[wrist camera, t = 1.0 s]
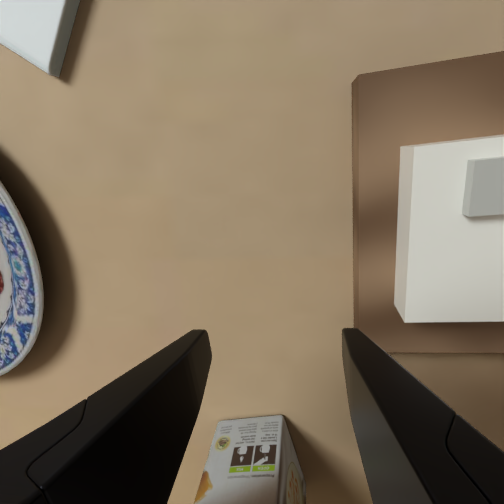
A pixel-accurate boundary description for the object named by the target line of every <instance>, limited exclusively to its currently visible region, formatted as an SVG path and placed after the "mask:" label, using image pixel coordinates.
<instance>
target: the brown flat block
mask: <svg viewBox="0 0 504 504" xmlns="http://www.w3.org/2000/svg"><path fill="white" fill-rule="evenodd" d="M503 134H504V51H501V52H495V53H489V54H483V55H477V56H471V57H464V58H458V59H452V60H446V61H440V62H434V63H428V64H421V65H415V66H409V67H403V68H397V69H391V70H384V71H378V72H372V73H366V74H360V75H358V76H357V77H356V79H355V80H354V81H353V82H352V171H353V286H354V328H358V329H359V330H361V331H362V332H363V333H364V334H365V335H366V336H368V337H369V338H370V339H371V340H372V341H373V342H375V343H376V344H377V345H378V346H379V347H380V348H382V349H383V350H384V351H385V352H402V353H504V321H499V322H418V323H404V321H403V319H402V317H401V316H400V314H399V312H398V310H397V308H396V307H395V305H394V293H395V268H396V244H397V219H398V195H399V170H400V146H409V145H417V144H426V143H435V142H443V141H452V140H460V139H469V138H478V137H486V136H495V135H503Z"/></svg>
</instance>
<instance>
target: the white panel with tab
mask: <svg viewBox="0 0 504 504" xmlns="http://www.w3.org/2000/svg"><path fill="white" fill-rule="evenodd" d="M394 305H395V307H396V308H397V310H398V312H399V314H400V316H401V317H402V319H403V321H404V323H418V322H499V321H504V134H503V135H495V136H486V137H478V138H469V139H460V140H452V141H443V142H435V143H426V144H417V145H409V146H400V170H399V195H398V219H397V244H396V268H395V293H394Z"/></svg>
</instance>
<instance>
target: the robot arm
mask: <svg viewBox="0 0 504 504" xmlns="http://www.w3.org/2000/svg"><path fill="white" fill-rule="evenodd" d="M342 356H343V365H344V373H345V380H346V388H347V395H348V403H349V409H350V415H351V420H352V424H353V428H354V432H355V436H356V440H357V443H358V447H359V451H360V455H361V459H362V463H363V467H364V470H365V474H366V478H367V482H368V486H369V490H370V493H371V497H372V501H373V504H504V452H503V451H502V450H501V449H499V448H498V447H497V446H496V445H495V444H493V443H492V442H491V441H490V440H488V439H487V438H486V437H485V436H484V435H482V434H481V433H480V432H479V431H478V430H476V429H475V428H474V427H473V426H472V425H470V424H469V423H468V422H467V421H466V420H465V419H463V418H462V417H461V416H460V415H458V414H456V413H455V411H454V410H453V409H452V408H450V407H449V406H448V405H447V404H446V403H445V402H443V401H442V400H441V399H440V398H439V397H438V396H436V395H435V394H434V393H433V392H432V391H431V390H429V389H428V388H427V387H426V386H425V385H424V384H422V383H421V382H420V381H419V380H418V379H417V378H415V377H414V376H413V375H412V374H411V373H410V372H408V371H407V370H406V369H405V368H404V367H403V366H401V365H400V364H399V363H398V362H397V361H396V360H394V359H393V358H392V357H391V356H390V355H389V354H387V353H386V352H385V351H384V350H383V349H382V348H380V347H379V346H378V345H377V344H376V343H375V342H373V341H372V340H371V339H370V338H369V337H368V336H366V335H365V334H364V333H363V332H362V331H361V330H359V329H358V328H344V329H343V330H342ZM211 360H212V352H211V347H210V342H209V337H208V333H207V331H206V330H191V331H190V332H188V333H187V334H185V335H184V336H182V337H181V338H179V339H177V340H176V341H174V342H173V343H171V344H170V345H168V346H167V347H165V348H164V349H162V350H160V351H159V352H157V353H156V354H154V355H153V356H151V357H150V358H148V359H146V360H145V361H143V362H142V363H140V364H139V365H137V366H136V367H134V368H132V369H131V370H129V371H128V372H126V373H125V374H123V375H122V376H120V377H118V378H117V379H115V380H114V381H112V382H111V383H109V384H108V385H106V386H104V387H103V388H101V389H100V390H98V391H97V392H95V393H94V394H92V395H91V396H89V397H88V398H87V400H86V399H84V400H83V401H81V402H80V403H78V404H76V405H75V406H73V407H72V408H70V409H69V410H67V411H65V412H64V413H62V414H61V415H59V416H57V417H56V418H54V419H53V420H51V421H49V422H48V423H46V424H44V425H43V426H41V427H39V428H38V429H36V430H34V431H33V432H31V433H29V434H27V435H26V436H24V437H22V438H21V439H19V440H17V441H15V442H14V443H12V444H10V445H8V446H7V447H5V448H3V449H1V450H0V504H167V502H168V499H169V496H170V494H171V491H172V488H173V485H174V482H175V479H176V476H177V474H178V471H179V468H180V465H181V462H182V459H183V457H184V454H185V451H186V448H187V445H188V442H189V440H190V437H191V434H192V431H193V428H194V425H195V422H196V420H197V417H198V414H199V410H200V407H201V403H202V399H203V395H204V390H205V386H206V382H207V377H208V373H209V369H210V365H211Z"/></svg>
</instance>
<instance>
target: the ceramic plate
mask: <svg viewBox="0 0 504 504" xmlns="http://www.w3.org/2000/svg"><path fill="white" fill-rule="evenodd" d="M43 309H44V292H43V282H42V276H41V271H40V266H39V261H38V258H37V255H36V251H35V248H34V245H33V242H32V240H31V237H30V234H29V232H28V229H27V227H26V225H25V223H24V221H23V219H22V217H21V215H20V213H19V211H18V209H17V207H16V205H15V204H14V202H13V200H12V198H11V197H10V195H9V193H8V192H7V190H6V189H5V187H4V186H3V184H2V183H1V181H0V376H1V375H3V374H5V373H7V372H9V371H10V370H12V369H13V368H14V367H16V366H17V365H18V364H19V363H20V362H21V361H22V360H23V359H24V358H25V357H26V355H27V354H28V353H29V352H30V350H31V349H32V347H33V345H34V343H35V342H36V339H37V336H38V334H39V331H40V327H41V323H42V318H43Z"/></svg>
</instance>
